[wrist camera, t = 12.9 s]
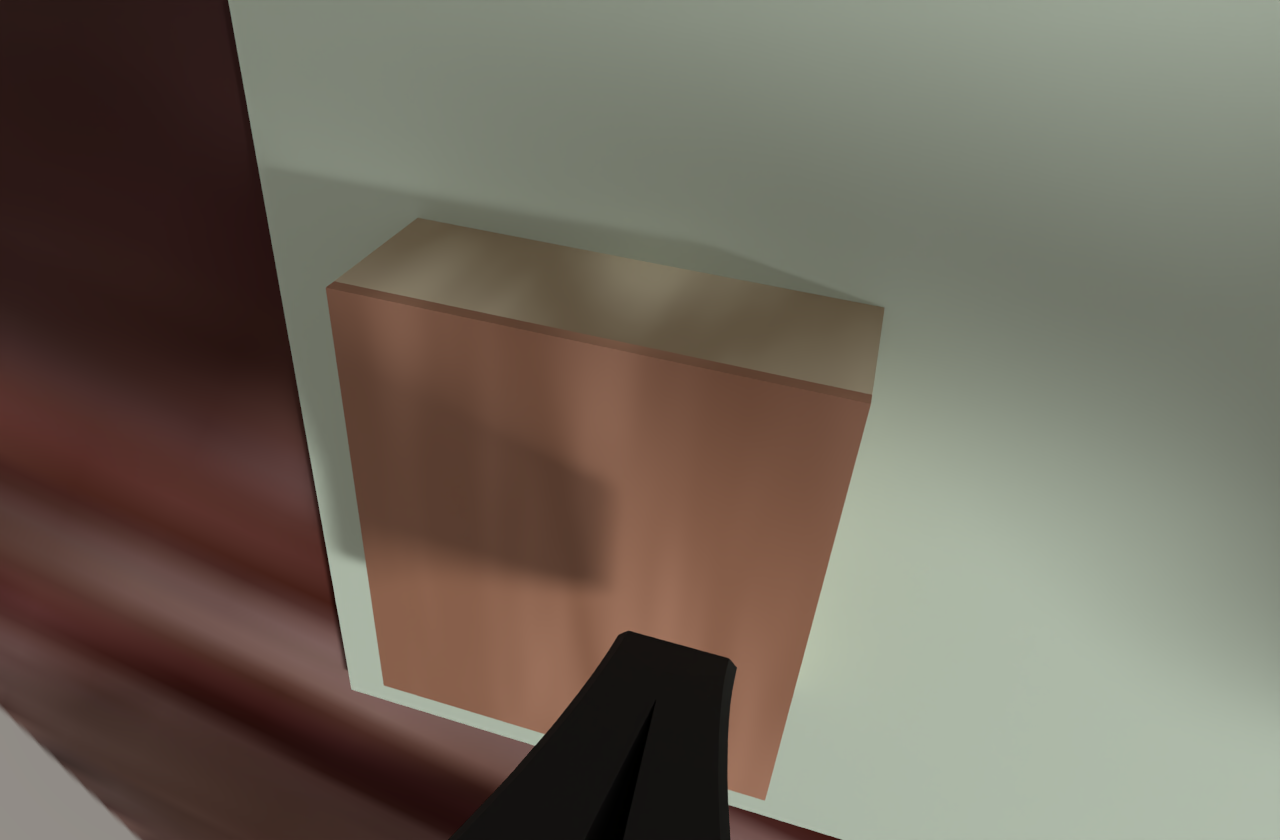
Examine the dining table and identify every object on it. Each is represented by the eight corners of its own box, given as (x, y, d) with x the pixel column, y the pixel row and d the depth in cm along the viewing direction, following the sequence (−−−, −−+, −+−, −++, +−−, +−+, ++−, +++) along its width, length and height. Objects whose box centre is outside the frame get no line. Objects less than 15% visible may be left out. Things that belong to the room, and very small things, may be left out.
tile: (870, 403, 10) (325, 287, 12) (765, 800, 15) (384, 685, 16) (884, 307, 12) (417, 217, 14) (787, 684, 17) (446, 590, 18)
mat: (2319, -85, 7) (2381, -81, 7) (1269, 951, 18) (1276, 972, 17) (202, -265, 11) (180, -268, 11) (360, 676, 22) (351, 689, 21)
